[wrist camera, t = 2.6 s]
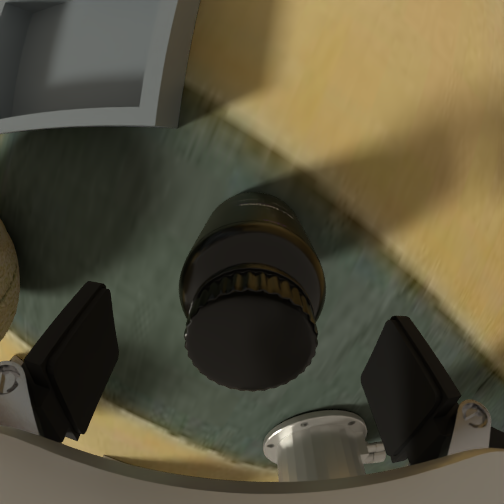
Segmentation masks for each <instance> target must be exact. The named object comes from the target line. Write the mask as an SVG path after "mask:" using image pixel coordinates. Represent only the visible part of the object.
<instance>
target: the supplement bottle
mask: <svg viewBox="0 0 504 504" xmlns="http://www.w3.org/2000/svg"><path fill="white" fill-rule="evenodd" d="M325 296H326V283H325V277H324V273H323V269H322V266H321V264H320V261H319V259H318V257H317V255H316V253H315V251H314V249H313V247H312V245H311V243H310V241H309V239H308V237H307V235H306V233H305V231H304V229H303V227H302V225H301V223H300V221H299V220H298V218H297V216H296V215H295V213H294V212H293V210H292V209H291V208H290V207H289V206H288V205H287V204H286V203H284V202H283V201H282V200H280V199H278V198H276V197H274V196H272V195H269V194H265V193H260V192H247V193H241V194H238V195H235V196H233V197H231V198H229V199H227V200H226V201H224V202H223V203H222V204H220V205H219V206H218V207H217V208H216V209H215V211H214V212H213V213H212V215H211V216H210V218H209V219H208V221H207V223H206V224H205V226H204V228H203V230H202V231H201V233H200V235H199V237H198V238H197V240H196V242H195V244H194V245H193V247H192V249H191V251H190V253H189V254H188V256H187V258H186V260H185V263H184V265H183V268H182V271H181V275H180V280H179V297H180V302H181V306H182V309H183V312H184V314H185V316H186V318H187V322H186V329H185V332H184V337H185V340H186V341H185V348H186V349H187V350H188V357H189V358H190V359H191V360H192V362H193V365H194V366H195V367H197V368H198V369H199V371H200V373H202V374H204V375H206V376H207V378H208V379H209V380H212V381H215V382H216V383H217V384H219V385H224V386H226V387H228V388H230V389H238V390H240V391H244V390H248V391H257V390H261V391H265V390H267V389H270V388H277V387H278V386H280V385H284V384H287V383H288V382H289V381H290V380H293V379H296V378H297V376H298V375H299V374H300V373H302V372H304V371H305V368H306V367H307V366H308V365H310V364H311V359H312V358H313V357H314V356H315V353H316V352H315V349H316V347H317V345H318V340H317V335H318V330H317V327H316V322H317V320H318V318H319V316H320V314H321V311H322V309H323V306H324V302H325Z"/></svg>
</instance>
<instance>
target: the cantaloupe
mask: <svg viewBox="0 0 504 504" xmlns="http://www.w3.org/2000/svg"><path fill="white" fill-rule="evenodd" d="M19 292H20V274H19V265H18V259H17V254H16V251H15V247H14V244H13V242H12V240H11V238H10V236H9V234H8V232H7V230H6V228H5V226H4V224H3V222H2V221H1V219H0V341H1V340H2V339H3V338H4V336H5V334H6V332H7V331H8V329H9V327H10V325H11V323H12V321H13V319H14V316H15V314H16V309H17V304H18V301H19Z"/></svg>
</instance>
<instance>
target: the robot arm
mask: <svg viewBox="0 0 504 504" xmlns="http://www.w3.org/2000/svg"><path fill="white" fill-rule="evenodd" d="M118 355H119V350H118V344H117V338H116V331H115V325H114V318H113V310H112V302H111V293H110V290H109V289H106V286H105V285H104V284H102V283H97V282H91V281H88V282H87V283H86V284H85V285H84V286H83V287H82V288H81V289H80V290H79V291H78V293H77V294H76V295H75V296H74V297H73V298H72V300H71V301H70V302H69V303H68V304H67V305H66V307H65V308H64V309H63V310H62V311H61V313H60V314H59V315H58V316H57V317H56V319H55V320H54V321H53V322H52V324H51V325H50V326H49V327H48V329H47V330H46V331H45V332H44V334H43V335H42V336H41V337H40V339H39V340H38V341H37V343H36V344H35V345H34V347H33V348H32V349H31V351H30V352H29V353H28V355H27V356H26V357H25V359H24V362H23V364H22V365H21V366H20V365H19V364H17V363H15V362H12V361H2V362H0V504H504V433H503V432H501V431H499V430H497V429H495V428H493V427H491V417H490V414H489V412H488V410H487V409H486V408H485V407H484V406H483V405H482V404H481V403H479V402H477V401H474V400H465V401H463V402H462V403H460V405H458V403H457V401H458V399H459V398H460V397H461V394H460V393H459V391H458V389H457V388H456V386H455V385H454V383H453V381H452V380H451V378H450V377H449V375H448V373H447V372H446V370H445V369H444V367H443V366H442V364H441V363H440V361H439V360H438V358H437V357H436V355H435V354H434V352H433V351H432V349H431V348H430V346H429V345H428V343H427V342H426V341H425V339H424V338H423V336H422V335H421V333H420V332H419V331H418V329H417V328H416V326H415V325H414V324H413V322H412V321H411V319H410V318H409V317H407V316H392V317H391V319H390V320H388V321H387V322H386V323H385V326H384V328H383V330H382V332H381V335H380V337H379V339H378V341H377V344H376V346H375V348H374V350H373V352H372V354H371V356H370V359H369V361H368V363H367V365H366V367H365V369H364V371H363V373H362V375H361V384H362V387H363V389H364V392H365V395H366V397H367V400H368V403H369V405H370V408H371V411H372V414H373V416H374V419H375V422H376V425H377V428H378V431H379V434H380V436H381V439H382V441H380V442H374V443H368V442H365V438H366V435H367V428H366V425H365V422H364V420H363V419H362V418H361V417H360V416H358V415H356V414H355V413H352V412H348V411H341V410H324V411H315V412H311V413H306V414H302V415H299V416H296V417H293V418H291V419H289V420H286V421H284V422H282V423H281V424H279V425H277V426H276V427H274V428H273V429H272V430H271V431H270V432H269V433H268V434H267V435H266V437H265V439H264V442H263V449H264V454H265V455H266V457H267V458H268V459H269V460H270V461H272V462H274V463H276V464H278V478H279V482H248V481H230V480H218V479H208V478H199V477H192V476H184V475H178V474H172V473H166V472H161V471H156V470H151V469H146V468H142V467H137V466H133V465H129V464H125V463H121V462H118V461H114V460H110V459H107V458H103V457H100V456H97V455H93V454H90V453H87V452H84V451H81V450H78V449H75V448H72V447H69V446H67V445H64V444H62V442H63V440H64V438H65V437H68V438H70V439H73V440H76V441H78V439H79V436H80V434H85V432H86V431H87V428H88V426H89V423H90V421H91V418H92V416H93V414H94V411H95V409H96V407H97V404H98V402H99V400H100V397H101V395H102V393H103V391H104V388H105V386H106V384H107V382H108V379H109V377H110V375H111V373H112V371H113V369H114V366H115V364H116V362H117V360H118ZM384 449H385V450H384ZM385 451H386V453H387V455H389V456H390V457H391V460H392V463H395V462H399V461H404V460H406V459H407V458H408V460H409V464H408V466H406V467H402V468H398V469H393V470H388V471H383V472H378V473H372V474H366V473H365V469H364V465H363V464H366V463H376V462H383V461H384V460H385V456H386V453H385Z"/></svg>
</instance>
